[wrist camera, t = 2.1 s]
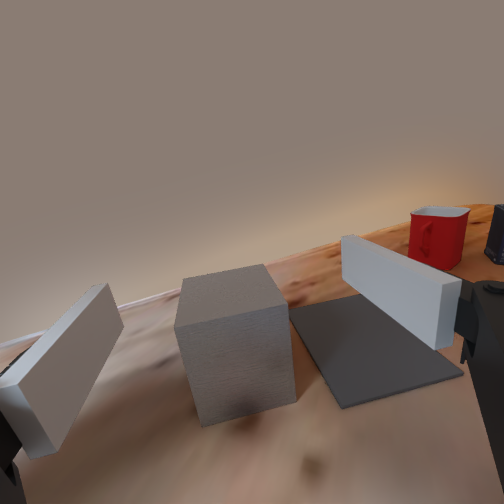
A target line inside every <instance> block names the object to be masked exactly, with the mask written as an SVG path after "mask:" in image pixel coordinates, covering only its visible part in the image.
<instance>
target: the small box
mask: <svg viewBox="0 0 504 504" xmlns="http://www.w3.org/2000/svg"><path fill="white" fill-rule="evenodd" d="M484 253H485V254H486V255H487V256H488V257H489V258H490V259H491V260H492V261H493V262H494V263H495V264H504V204H501V205H495V207H494V213H493V218H492V222H491V227H490V231H489V235H488V240H487V244H486V248H485V250H484Z"/></svg>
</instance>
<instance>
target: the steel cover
mask: <svg viewBox="0 0 504 504" xmlns="http://www.w3.org/2000/svg"><path fill="white" fill-rule="evenodd" d="M174 331H175V334H176V338H177V342H178V345H179V349H180V352H181V356H182V359H183V363H184V366H185V370H186V374H187V377H188V381H189V384H190V388H191V391H192V395H193V399H194V402H195V406H196V409H197V413H198V416H199V420H200V424H201V427H205V426H209V425H213V424H216V423H220V422H224V421H227V420H231V419H235V418H239V417H242V416H246V415H250V414H254V413H257V412H261V411H265V410H268V409H272V408H276V407H280V406H283V405H287V404H291V403H295V402H297V401H296V390H295V379H294V368H293V357H292V346H291V335H290V324H289V313H288V303H287V302H286V300H285V298H284V297H283V295H282V294H281V292H280V290H279V289H278V287H277V286H276V284H275V282H274V281H273V279H272V278H271V276H270V274H269V273H268V271H267V269H266V268H265V266H264V265H263V264H259V265H254V266H249V267H243V268H239V269H233V270H228V271H222V272H217V273H212V274H207V275H201V276H196V277H191V278H186V279H183V283H182V288H181V293H180V298H179V304H178V309H177V314H176V319H175V324H174Z"/></svg>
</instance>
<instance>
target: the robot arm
mask: <svg viewBox="0 0 504 504" xmlns="http://www.w3.org/2000/svg"><path fill="white" fill-rule="evenodd" d="M341 254H342V279H343V280H344V281H345V282H347V283H348V284H349V285H350V286H352V287H353V288H354V289H356V290H357V291H358V292H360V293H361V294H362V295H363V296H365V297H366V298H367V299H369V300H370V301H371V302H372V303H374V304H375V305H376V306H378V307H379V308H380V309H381V310H383V311H384V312H385V313H387V314H388V315H389V316H390V317H392V318H393V319H394V320H396V321H397V322H398V323H400V324H401V325H402V326H403V327H405V328H406V329H407V330H409V331H410V332H411V333H412V334H414V335H415V336H416V337H418V338H419V339H420V340H421V341H423V342H424V343H425V344H427V345H428V346H429V347H430V348H432V349H433V350H434V351H435V350H438V349H442V348H446V347H449V346H452V345H453V338H454V331H455V332H456V333H458V334H459V335H461V336H463V337H464V342H463V348H462V354H461V360H460V363H461V364H464V362H465V360H467V363H468V367H469V371H470V374H471V378H472V381H473V385H474V388H475V392H476V396H477V399H478V403H479V406H480V410H481V414H482V417H483V421H484V424H485V428H486V432H487V435H488V439H489V442H490V446H491V450H492V453H493V457H494V460H495V464H496V467H497V471H498V475H499V478H500V482H501V485H502V489H503V493H504V282H499V281H478V282H475V283H472V282H470V281H467V280H465V279H462V278H460V277H457V276H455V275H452V274H450V273H448V272H446V273H445V271H443V270H440V269H436V268H435V267H433V266H431V265H428V264H426V263H421V262H418V261H416V260H413V259H411V258H408V257H406V256H404V255H401V254H399V253H396V252H394V251H392V250H389V249H387V248H384V247H382V246H379V245H377V244H375V243H372V242H370V241H367V240H365V239H363V238H360V237H358V236H355V235H349V236H343V237H341ZM123 328H124V325H123V322H122V320H121V317H120V314H119V312H118V309H117V306H116V303H115V301H114V298H113V295H112V293H111V290H110V287H109V285H108V283H105V284H99V285H94V286H92V287H91V288H90V289H89V290H88V291H87V292H86V293H85V294H84V295H83V296H82V297H81V298H80V299H79V300H78V301H77V302H76V303H75V304H74V305H73V306H72V307H71V308H70V309H69V310H68V311H67V312H66V313H65V314H64V315H63V316H62V317H61V318H60V319H59V320H58V321H57V322H56V323H55V324H54V325H53V326H52V327H51V328H49V329H48V330H47V331H46V332H45V333H44V334H43V335H42V336H41V337H40V338H39V339H38V340H37V341H36V342H35V343H34V344H33V345H32V346H31V347H29V348H28V349H27V350H25V351H24V352H22V353H21V354H19V355H18V356H17V357H16V358H15V359H14V360H13V361H12V362H11V363H10V364H9V366H8V367H6V368H5V369H4V370H3V371H2V372H1V373H0V504H27V503H26V499H25V495H24V491H23V487H22V483H21V479H20V475H19V471H18V468H17V466H16V465H15V463H14V462H13V459H14V457H15V456H16V454H17V453H18V451H19V450H20V448H21V447H23V449H24V450H25V452H26V453H27V455H28V457H29V458H30V460H32V459H35V458H39V457H43V456H46V455H50V454H54V453H58V451H59V449H60V447H61V445H62V443H63V441H64V439H65V438H66V436H67V434H68V432H69V430H70V428H71V426H72V424H73V422H74V421H75V419H76V417H77V415H78V413H79V411H80V409H81V407H82V405H83V404H84V402H85V400H86V398H87V396H88V394H89V392H90V390H91V388H92V387H93V385H94V383H95V381H96V379H97V377H98V375H99V373H100V371H101V370H102V368H103V366H104V364H105V362H106V360H107V358H108V356H109V354H110V353H111V351H112V349H113V347H114V345H115V343H116V341H117V339H118V337H119V336H120V334H121V332H122V330H123Z"/></svg>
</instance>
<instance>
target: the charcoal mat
mask: <svg viewBox="0 0 504 504" xmlns="http://www.w3.org/2000/svg"><path fill="white" fill-rule="evenodd" d="M288 313H289V318H290V320H291V322H292V323H293V325H294V327H295V329H296V330H297V332H298V334H299V335H300V337H301V339H302V341H303V342H304V344H305V346H306V348H307V349H308V351H309V353H310V355H311V356H312V358H313V360H314V362H315V363H316V365H317V367H318V369H319V370H320V372H321V374H322V376H323V377H324V379H325V381H326V383H327V384H328V386H329V388H330V390H331V391H332V393H333V395H334V397H335V398H336V400H337V402H338V404H339V405H340V407H341V409H344V408H348V407H351V406H355V405H359V404H362V403H366V402H369V401H373V400H377V399H380V398H384V397H387V396H391V395H394V394H398V393H402V392H405V391H409V390H412V389H416V388H420V387H423V386H427V385H430V384H434V383H437V382H441V381H445V380H448V379H452V378H455V377H459V376H462V375H463V374H464V372H463V371H461V370H460V369H459V368H457V367H456V366H455V365H454V364H452V363H451V362H450V361H448V360H447V359H446V358H445V357H443V356H442V355H441V354H440V353H438V352H437V351H436V350H435V351H434V350H433V349H432V348H430V347H429V346H428V345H427V344H425V343H424V342H423V341H421V340H420V339H419V338H418V337H416V336H415V335H414V334H412V333H411V332H410V331H409V330H407V329H406V328H405V327H403V326H402V325H401V324H400V323H398V322H397V321H396V320H394V319H393V318H392V317H390V316H389V315H388V314H387V313H385V312H384V311H383V310H381V309H380V308H379V307H378V306H376V305H375V304H374V303H372V302H371V301H370V300H369V299H367V298H366V297H365V296H363V295H362V294H358V295H354V296H349V297H345V298H340V299H335V300H331V301H326V302H322V303H317V304H312V305H308V306H303V307H299V308H294V309H289V310H288Z"/></svg>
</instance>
